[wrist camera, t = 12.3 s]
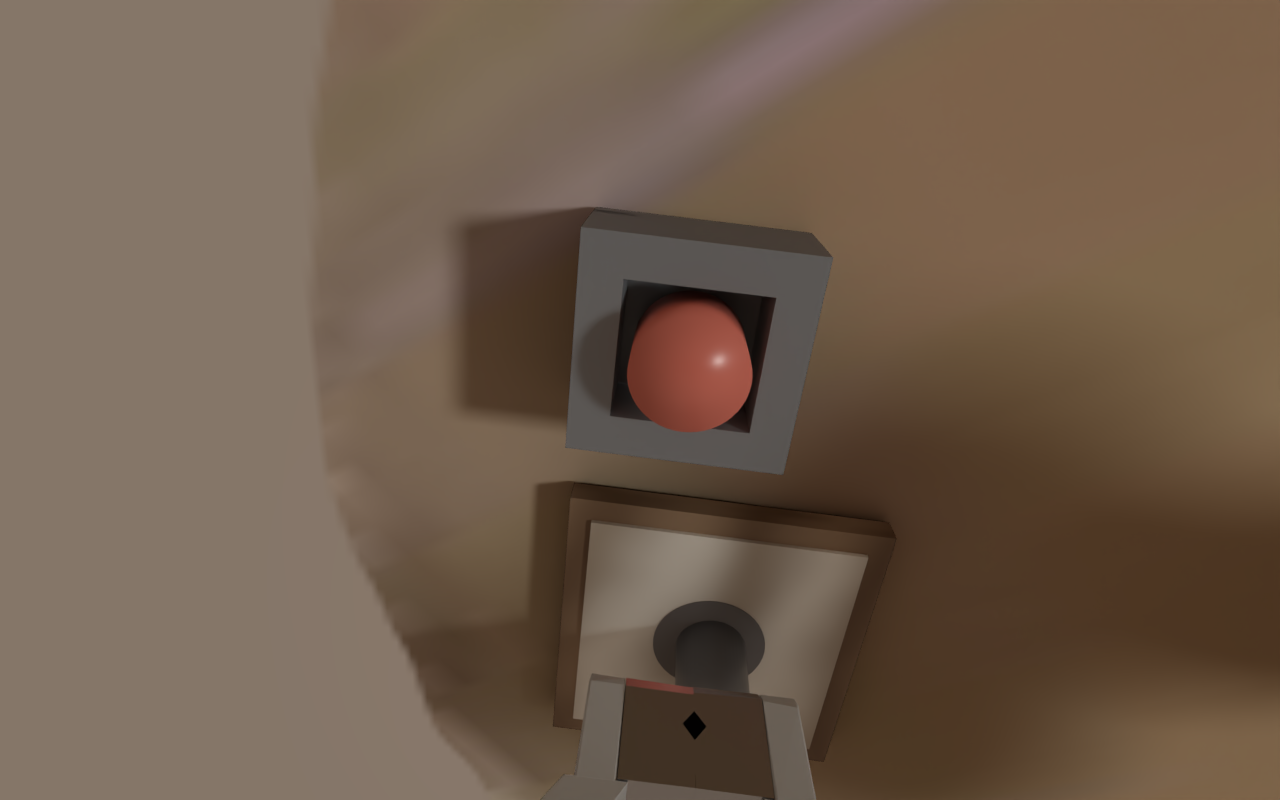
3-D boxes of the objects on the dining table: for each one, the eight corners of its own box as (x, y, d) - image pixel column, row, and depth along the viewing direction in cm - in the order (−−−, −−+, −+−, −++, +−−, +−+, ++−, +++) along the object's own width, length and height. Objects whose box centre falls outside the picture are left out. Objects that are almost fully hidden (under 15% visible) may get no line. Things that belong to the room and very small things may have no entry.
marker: (752, 624, 31) (780, 846, 22) (740, 678, 32) (760, 908, 23) (678, 614, 31) (675, 833, 22) (669, 669, 32) (662, 895, 23)
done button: (754, 297, 24) (763, 325, 21) (735, 401, 25) (740, 439, 23) (639, 283, 24) (633, 309, 21) (628, 388, 25) (621, 424, 23)
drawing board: (888, 522, 30) (898, 542, 29) (819, 741, 36) (824, 766, 34) (574, 482, 30) (569, 501, 29) (556, 707, 36) (551, 731, 35)
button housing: (811, 233, 25) (833, 257, 21) (770, 425, 28) (783, 475, 25) (596, 207, 25) (581, 226, 21) (581, 401, 28) (565, 447, 25)
